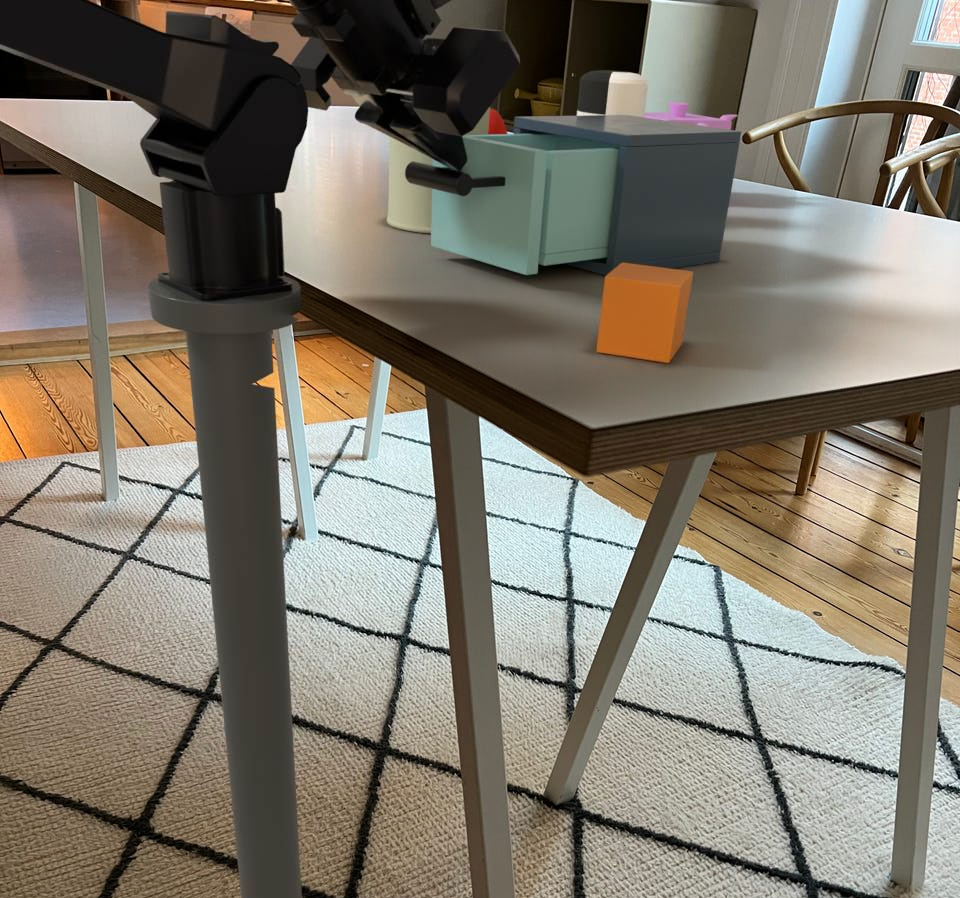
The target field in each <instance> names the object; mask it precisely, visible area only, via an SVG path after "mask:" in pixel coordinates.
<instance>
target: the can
mask: <svg viewBox="0 0 960 898" xmlns="http://www.w3.org/2000/svg"><path fill="white" fill-rule="evenodd" d="M490 108H491V106H490V107H489V108H488V110H487V111H486V112H485V114H484V115H483V117H482V118H481V119H480V121H479V122H478V124H477V125H476V126H475V128H474V129H473V130H472V131H471V132H469V133H467V134H465V135H488V129H489V113H490ZM388 140H389V141H388V206H387V207H388V209H387V216H386V224H388V226H390V227H392V228H396V229H399V230H402V231H407V232H412V233H413V232H414V233H421V234H431V222H432V189H431V188H427V187H423V186H419V185H415V184H411V183H409V182H408V181H407V179H406V177H405V170H406V167H407V165H408V164H409V163H410V162H419V163H423V164H428V165H432V166H433V159H432V158H430V157H428V156H426V155H424V154H422V153H420V152H419V151H417V150H415V149H413V148H411V147H409V146H407V145H405V144H403V143H401V142H399V141H398V140H396V139H394V138H392V137H390V136H388Z"/></svg>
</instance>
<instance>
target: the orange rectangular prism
mask: <svg viewBox="0 0 960 898" xmlns="http://www.w3.org/2000/svg"><path fill="white" fill-rule="evenodd" d="M604 276H605V275H604ZM693 276H694V272H693V271H691V270H685V269H677V268H671V269H669V268H662V267H654V266H646V265H638V264H630V263H621V264H620V265H618V266H617V267H616V268H615V269H614V270H612V271H611V272H610V273H609V274H608V275H606V276H605V277H604V283H603V290H602V299H601V309H600V315H599V316H600V317H599V324H598V334H597V341H596V350H595V351H596V353H599V354H604V355H605V354H606V355H612V356H617V357H618V356H619V357H626V358H631V359H632V358H633V359H638V360H645V361H650V362H651V361H652V362H656V363H657V362H659V363H664V364H669V363H670V362H671V360H672V359H673V358H674V356H675V354H676V353H677V352H678V351H679V349H680V347H681V346H682V345H683V339H684V333H685V326H686V320H687V313H688V308H689V302H690V295H691V289H692V283H693Z"/></svg>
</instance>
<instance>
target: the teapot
mask: <svg viewBox="0 0 960 898" xmlns="http://www.w3.org/2000/svg"><path fill="white" fill-rule="evenodd" d="M689 106H690V104H689V103H688V102H684V101H683V102H682V101H671V102H669V103H668V108H669V112H645V113H644V117H645V118H652V119H658V120H665V121H672V122H679V123H686V124H693V125H700V126H707V127H713V128H720V129H727V130H732V124H733V121H732V120H734V119H735V118H737V117H738V116H739V115H738V114H723V115H721V116H720V117H712V116H705V115H700V114H693V113H688V110H689Z"/></svg>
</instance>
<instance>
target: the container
mask: <svg viewBox="0 0 960 898" xmlns="http://www.w3.org/2000/svg"><path fill="white" fill-rule="evenodd" d="M648 89H649V83H648V80H647V79H646V78H645V77H644V76H642V75H641V74H639V73H636V72H635V73H634V72H630V71H625V70H623V71H621V70H611V69H609V70H606V69H604V70H603V69H601V70H590V71H589V72H587V73H584V74H583V75H582V76H581V77H580V78H579V88H578V97H577V98H578V99H577V109H576V116H591V115H631V116H638V117H644V113H646V104H647V96H648Z"/></svg>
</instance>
